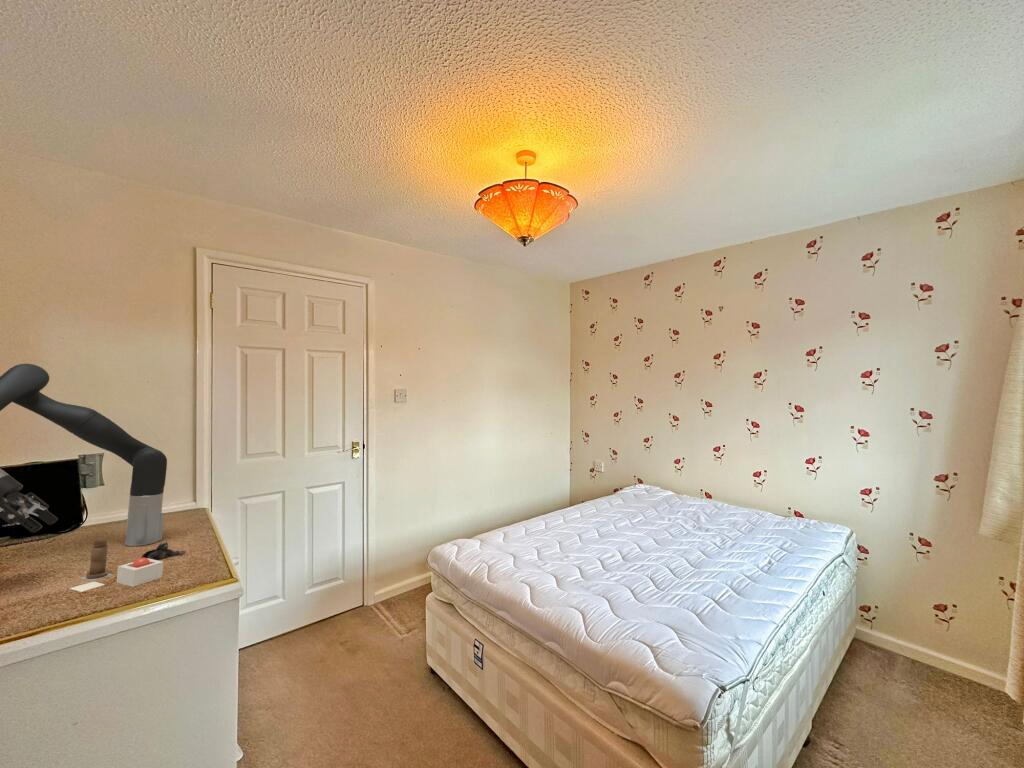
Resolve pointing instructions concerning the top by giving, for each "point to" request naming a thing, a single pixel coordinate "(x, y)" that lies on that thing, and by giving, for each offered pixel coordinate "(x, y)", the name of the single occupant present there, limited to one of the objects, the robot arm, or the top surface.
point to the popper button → (141, 562)
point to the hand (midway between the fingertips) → (46, 525)
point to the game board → (88, 584)
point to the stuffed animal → (162, 552)
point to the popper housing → (139, 573)
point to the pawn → (98, 559)
